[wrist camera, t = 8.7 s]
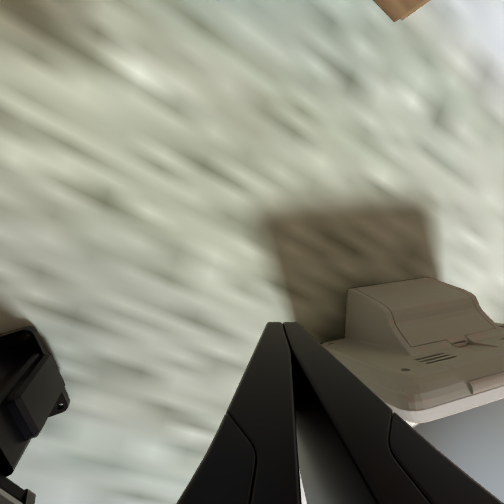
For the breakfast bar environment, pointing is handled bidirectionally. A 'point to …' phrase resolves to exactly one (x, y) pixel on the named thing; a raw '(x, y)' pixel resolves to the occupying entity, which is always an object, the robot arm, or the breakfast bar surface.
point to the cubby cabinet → (400, 7)
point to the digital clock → (422, 348)
